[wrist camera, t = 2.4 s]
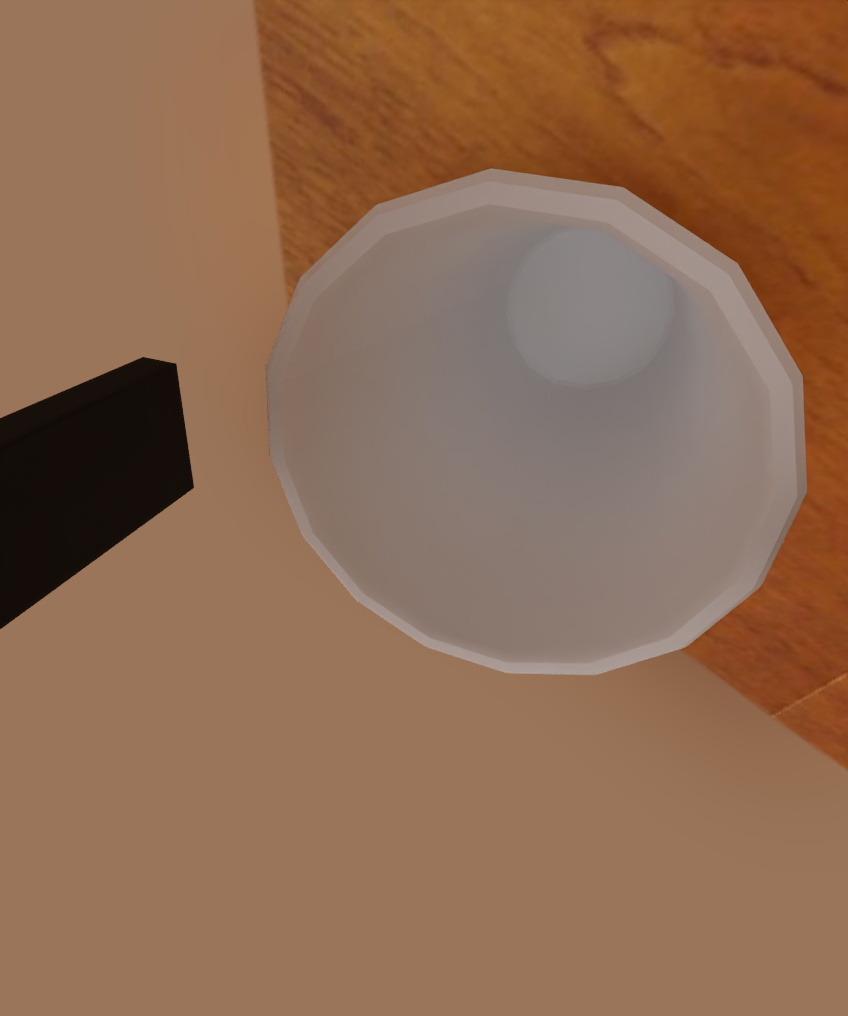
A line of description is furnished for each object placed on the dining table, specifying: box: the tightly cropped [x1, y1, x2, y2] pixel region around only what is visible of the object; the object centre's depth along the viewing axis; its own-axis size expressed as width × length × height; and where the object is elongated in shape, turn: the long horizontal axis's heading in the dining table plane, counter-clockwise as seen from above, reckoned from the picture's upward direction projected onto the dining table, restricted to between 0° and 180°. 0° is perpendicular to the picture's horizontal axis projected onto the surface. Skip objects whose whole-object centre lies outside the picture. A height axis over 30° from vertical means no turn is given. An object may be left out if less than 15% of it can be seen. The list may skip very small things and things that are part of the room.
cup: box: [266, 168, 807, 675], centre depth 17 cm, size 10×10×13 cm
